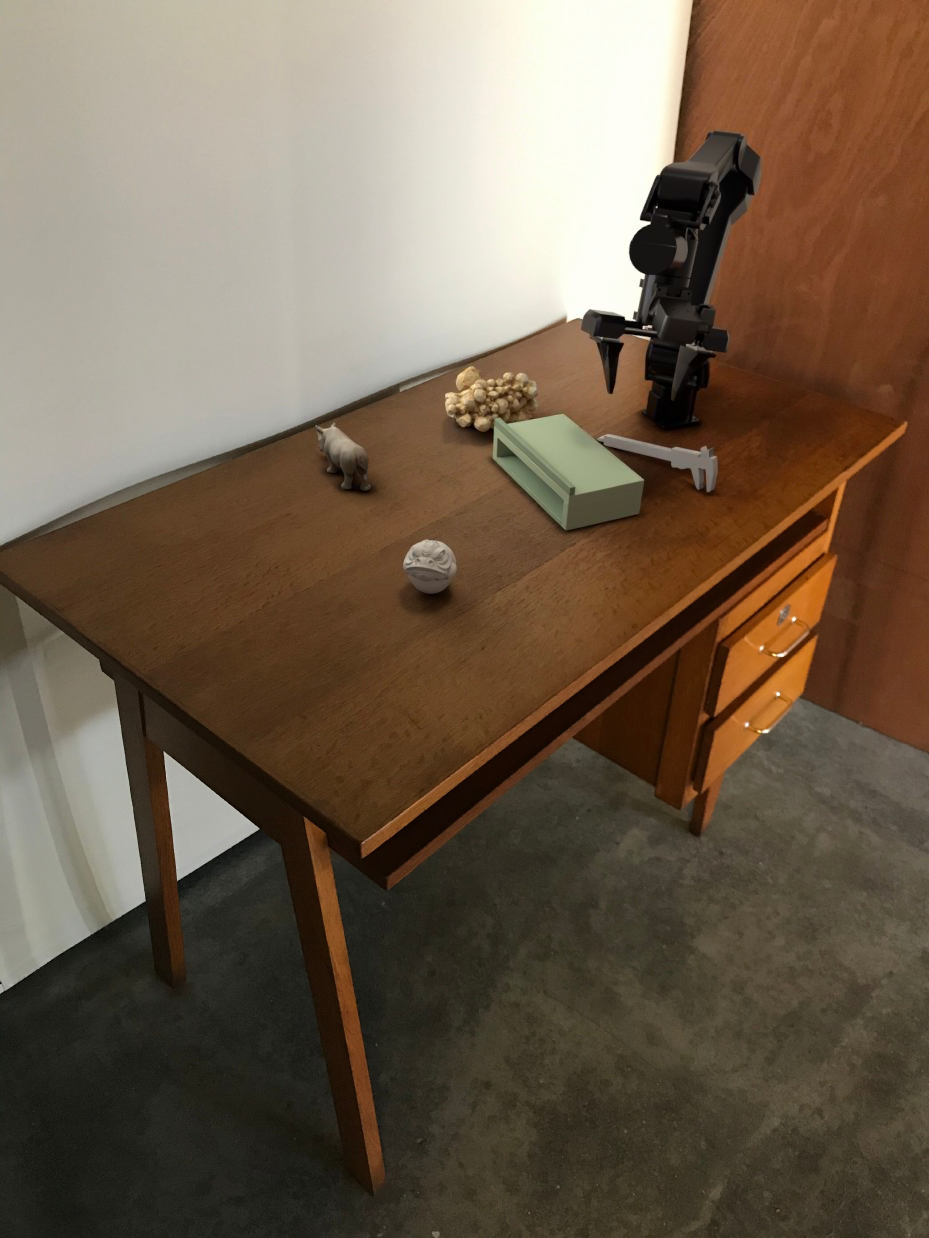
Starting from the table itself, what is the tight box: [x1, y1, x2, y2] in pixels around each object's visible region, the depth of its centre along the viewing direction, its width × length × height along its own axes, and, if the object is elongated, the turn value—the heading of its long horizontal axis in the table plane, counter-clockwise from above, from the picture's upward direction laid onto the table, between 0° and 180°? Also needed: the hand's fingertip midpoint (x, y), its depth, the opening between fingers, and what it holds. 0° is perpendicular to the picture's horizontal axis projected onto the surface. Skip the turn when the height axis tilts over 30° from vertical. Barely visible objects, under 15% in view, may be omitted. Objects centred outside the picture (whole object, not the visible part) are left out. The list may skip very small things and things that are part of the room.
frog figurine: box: [402, 539, 458, 595], centre depth 113 cm, size 6×7×7 cm
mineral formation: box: [444, 365, 540, 433], centre depth 148 cm, size 8×13×15 cm
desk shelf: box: [492, 413, 645, 531], centre depth 134 cm, size 11×21×6 cm, turn 25°
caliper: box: [596, 433, 719, 493], centre depth 139 cm, size 20×1×6 cm, turn 42°
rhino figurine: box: [315, 422, 371, 492], centre depth 136 cm, size 4×14×6 cm, turn 30°
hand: (642, 397), depth 134 cm, fingers open, 9 cm apart
